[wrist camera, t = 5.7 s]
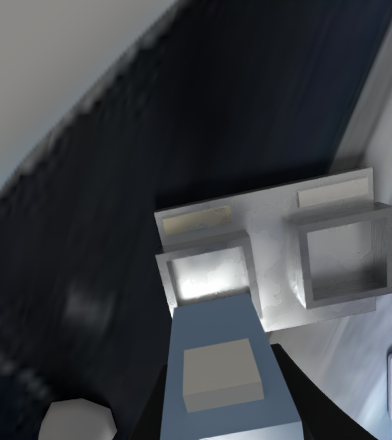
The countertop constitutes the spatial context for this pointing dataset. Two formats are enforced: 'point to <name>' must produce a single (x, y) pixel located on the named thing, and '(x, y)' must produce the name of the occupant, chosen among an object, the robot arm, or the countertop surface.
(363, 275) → the panel
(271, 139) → the countertop surface
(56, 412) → the flask
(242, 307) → the plug
